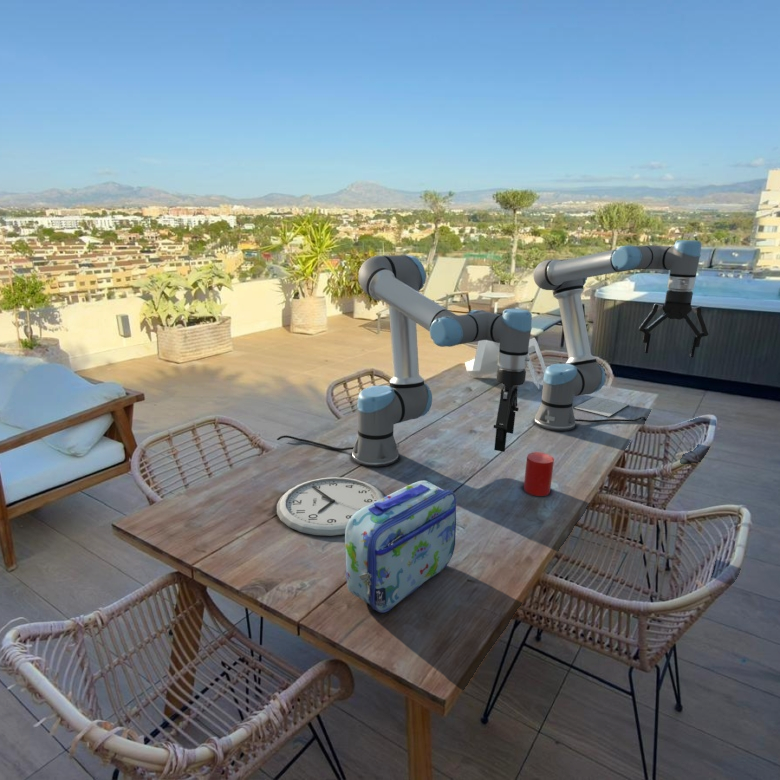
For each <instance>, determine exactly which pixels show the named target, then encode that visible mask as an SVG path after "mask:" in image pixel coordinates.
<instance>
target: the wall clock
mask: <svg viewBox="0 0 780 780" xmlns="http://www.w3.org/2000/svg"><path fill="white" fill-rule="evenodd" d="M384 497H386V495H385V494H384V493H383V492H382V491H381V490H380V489H379V488H377V487H376V486H374V485H372V484H371V483H369V482H365V481H362V480H359V479H355V478H349V477H338V476H337V477H335V476H333V477H332V476H331V477H322V478H317V479H312V480H307V481H305V482H302V483H299V484H297V485H295V486H293V487H292V488H290V489H288V490H287V491H286V492H285V493H284V494H283V495H281V496H280V498H279V499H278V502H277V503H276V515H277V517H278V518H279V520H280V521H281V522H282V523H283V524H285V525H286V526H287V527H288V528H290V529H293V530H295V531H297V532H299V533H303V534H308V535H312V536H327V537H328V536H329V537H331V536H332V537H333V536H342V535H345V531H346V527H347V524H348V522H349V520H350V518H351V517H352V515H353V514H354V513H355V512H357V511H358V510H360V509H362V508H364V507H366V506H368V505H370V504H372V503H374V502H376V501H378V500H380V499H382V498H384Z"/></svg>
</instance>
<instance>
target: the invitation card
mask: <svg viewBox="0 0 780 780" xmlns="http://www.w3.org/2000/svg"><path fill="white" fill-rule="evenodd" d="M628 406H629V404H627V403H623V402H618V401H614V400H609V399H605V398H601V397H596V396H593V397H592V398H590V399H588V400H586V401H584V402H582V403H580V404H578V405H575V406H574V407H573V409H575V410H581V411H584V412H587V413H593V414H596V415H600V416H604V417H608V418H609V417H611V416H613V415H614V414H616V413H617V412H619V411H621V410H623V409H624V408H626V407H628Z"/></svg>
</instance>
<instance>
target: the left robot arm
mask: <svg viewBox="0 0 780 780" xmlns="http://www.w3.org/2000/svg"><path fill="white" fill-rule="evenodd" d="M357 278H358V283H359V286H360V288H361V290H362V291H363V292H364V293H365V294H366V295H367V296H369V297H370V298H372V299H373V300H375V301H383V303H385V304H387V305H388V312H389V326H390V328H389V329H390V342H391V343H390V345H391V358H392V377H391V379H389V385H385V384H384V385H383V384H379V385H371V386H368V387H366V388H363V389H362V390H361V391H360V392H359V394H358V395H357V396H358V397H357V404H356V407H357V436H356V440H355V442H354V445H353V446H348V447H347V446H346V447H336V446H331V445H328V444H324V443H320V442H316V441H313V440H309V439H304V438H299V437H296V436H292V435H287V434H286V435H285V434H284V435H280V436H278V437H277V438H276V441H280V440H281V439H285V438H286V439H292V440H295V441H297V442H298V441H299V442H305V443H309V444H313V445H317V446H320V447H323V448H328V449H331V450H335V451H340V452H341V451H350V450H352V452H351V453H352V455H351V456H352V457H351V458H352V460H353V461H354V462H355V463H356V464H359V465H361V466H365V467H373V468H375V467H376V468H379V467H386V466H389V465H392V464H394V463H396V462H397V461H398V460H399V448H400V443H398V444H397V442H396V439H395V436H394V425H397V424H401V423H404V422H407V421H411V420H416V419H418V418H420V417H423V416H425V415H427V413H428V412H429V411H430V409H431V407H432V405H433V393H432V389H430V387H429V385H428V384H427V383H425V378H424V377H422V376H421V375H420V368H419V367H420V366H419V365H420V364H419V351H418V350H419V349H418V330H417V325H418V326H420V327H422V328H423V329H425V330H426V331H428V332H429V335H430V339H431V340H432V341H433V343H434V344H435V345H436V346H437V347H442V348H444V347H445V348H446V347H448V348H449V347H450V348H451V347H455V346H459V345H463V344H470V343H476V342H478V341H482V340H488V341H493V342H496V343H500V347H499V356H498V366H499V367H498V369H497V374H496V377H495V379H496V381H497V382H498V384H501V385H503V387H502V388H501V389H500V397H499V404H498V409H497V416H496V420H495V424H493V429H495V436H494V437H495V438H494V447H493V448H494V449H493V450H494V451H498V452H503V453H505V452H506V443H507V434H510V435H511V434H514V429H515V421H516V413H517V412H519V407H517V406H518V394H519V393H518V391H519V386H522V385H524V384H525V383H526V377H527V370H526V368H527V367H528V364H527V361H530V358H531V357H530V358H527V356H528V347H529V340H530V339H531V333H532V330H533V327H532V321H533V315H532V312H530V311H529V310H527V309H521V308H519V309H516V308H506V309H504V310H503V311H502V314H499V313H494V312H490V311H486V310H483V309H481V310H479V309H472V310H470V311H469V312H468V313H466V314H459V315H458V314H456V313H454V312H452V311H450V310H449V309H447V308H445V307H444V306H442V305H440V304H439V303H437V302H435V301H434V300H432V299H431V298H429V297H427V296H426V295H424V294H423V293H421V292H420V291H421V290H422V289H423V288H424V285H425V284H426V280H427V275H426V270H425V266H424V264H423V263H422V261H420V260H419V259H418V258H417V257H416V256H414V255H407V254H396V255H395V254H393V255H374V256H371V257H369V258H368V259H366V260H365V261H364V262H363V263H362V264H361V266H360V268H359V271H358V277H357Z"/></svg>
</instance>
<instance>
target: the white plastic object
mask: <svg viewBox="0 0 780 780" xmlns="http://www.w3.org/2000/svg"><path fill="white" fill-rule="evenodd" d="M515 309H520V307H519V306H517V307H515ZM499 347H500V343H496V342H493V341H488V340H482V341H477V346H476V351H475V355H474V358H473V359H471V360H468V361H465V362H464V365H465V370H466V372H467V374H468V375H469V377H471V378H472V377H481V376H490V375H497V369H498V367H499V366H498V356H499ZM535 352H536V355H537V359H538V362H539V364H540V367H541V370H542V373H543V375H544V374H545V370H546V368H547V366H546V364H545V363H546V362H545V360H544V358H543V355H542V351H541V348H540V345H539V343H538V341H537V339H536V338H535V337H532V338H530V340H529V347H528V356H527V358H530V361H527V367H528V370H529V372H530V376H531V379H532V382H533V384H534V386H535V387H536V388H537V389H538V390H540V383H539V380H538V377H537V374H536V371H535V368H534V365H533V361H532V359H531V356H530V354H533V353H535Z"/></svg>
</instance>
